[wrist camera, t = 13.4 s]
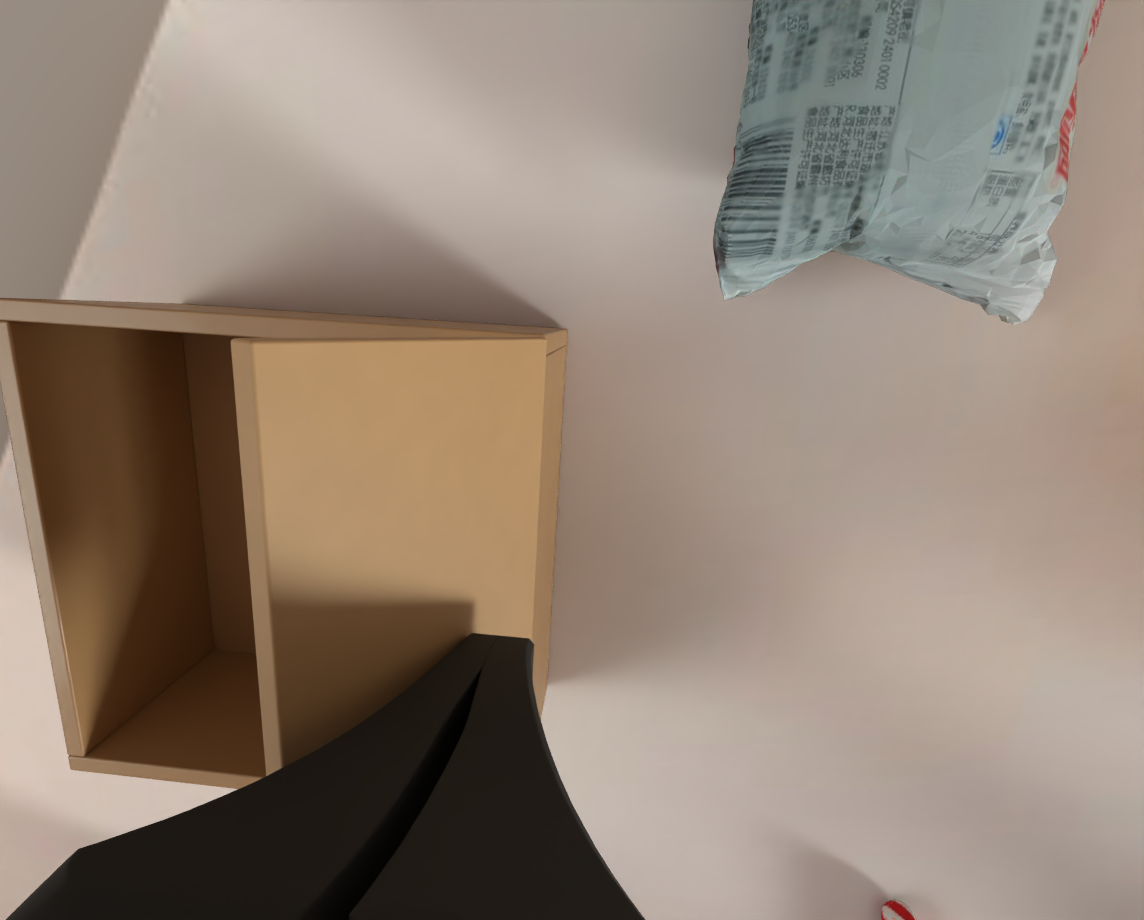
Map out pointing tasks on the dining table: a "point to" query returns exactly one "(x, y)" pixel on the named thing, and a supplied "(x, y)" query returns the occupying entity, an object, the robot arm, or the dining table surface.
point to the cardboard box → (174, 520)
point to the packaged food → (906, 142)
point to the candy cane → (897, 911)
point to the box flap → (382, 515)
